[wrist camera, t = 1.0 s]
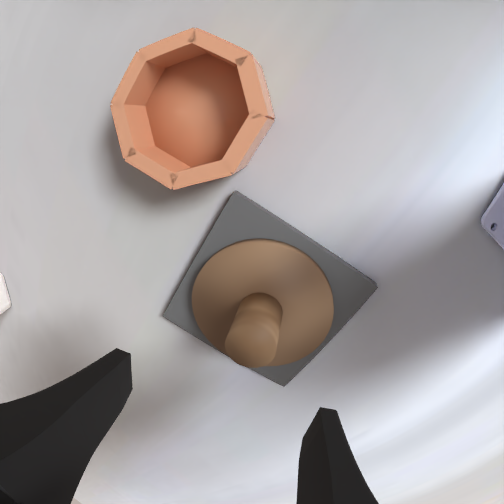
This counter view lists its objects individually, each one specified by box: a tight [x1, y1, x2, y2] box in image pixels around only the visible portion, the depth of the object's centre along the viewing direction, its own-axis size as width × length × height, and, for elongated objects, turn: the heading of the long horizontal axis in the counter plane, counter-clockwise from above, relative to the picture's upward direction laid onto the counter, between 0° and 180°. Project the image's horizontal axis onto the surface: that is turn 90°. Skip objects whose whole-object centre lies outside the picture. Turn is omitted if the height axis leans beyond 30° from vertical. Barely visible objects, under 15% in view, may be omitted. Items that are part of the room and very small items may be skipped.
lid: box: [192, 238, 334, 368], centre depth 18 cm, size 9×9×4 cm
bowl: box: [110, 28, 275, 190], centre depth 15 cm, size 8×8×3 cm
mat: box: [163, 191, 378, 387], centre depth 20 cm, size 10×10×1 cm
